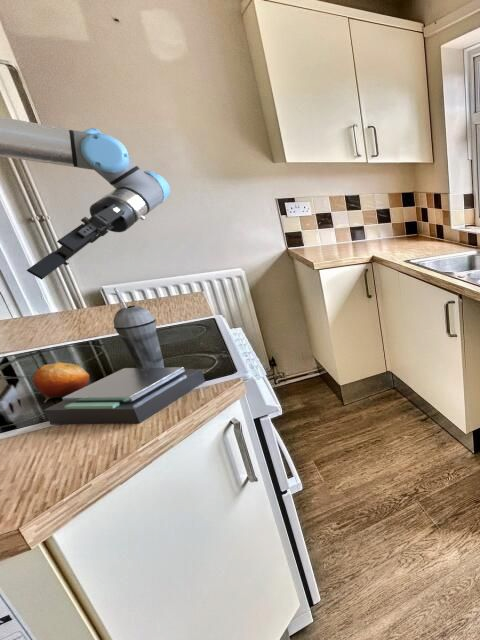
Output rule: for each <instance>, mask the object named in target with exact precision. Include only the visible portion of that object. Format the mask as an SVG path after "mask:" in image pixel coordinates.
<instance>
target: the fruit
mask: <svg viewBox="0 0 480 640" xmlns="http://www.w3.org/2000/svg"><path fill="white" fill-rule="evenodd" d="M32 382H33V386H34V388H36V389H37V390H38V391H39V393H40V394H41V395H42V396H43V397H44V398H45V400H43V402H44V403H45V404H46V403H47V401H49V400H50V399H55V398H63V397H65V396H67V395H69V394H71V393H73V392H75V391H77V390H80V389H82V388H84V387H86V386H88V385H89V382H90V373H89V372H87V370H85V369H84V368H83V367H82V366H80V365H78V364H75V363H71V362H61V361H60V362H54V363H49V364H48V363H47V364H43V365H42V366H40V368H38V369H37V370H36V371H35V373H34V375H33V381H32Z"/></svg>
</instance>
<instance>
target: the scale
mask: <svg viewBox="0 0 480 640" xmlns="http://www.w3.org/2000/svg"><path fill="white" fill-rule="evenodd" d="M184 370H185V372H183V373H181V374H179V375H178V376H176V377H174V378H172V379H171V380H169V381H167V382H165V383H164V384H162V385H160V386H158V387H157V388H155V389H153V390H151V391H150V392H148V393H146V394H144V395H143V396H141V397H139V398H137V399H136V400H134V401H132V402H64V401H63V400H61V401H59V402H58V403H55V404H53V405H51V406H49V407H47V408H45V409H43V413H44V415H45V417H46V419H47V421H48V423H49V425H103V424H104V425H105V424H106V425H107V424H108V425H109V424H110V425H112V424H117V425H118V424H141V423H142V422H144V421H146V420H147V419H148V418H150V417H152V416H153V415H156V413H158V412H160V411H161V410H163V409H164V408H166V407H168V406H169V405H171V404H172V403H174V402H175V401H177V400H178V399H180V398H182V397H183V396H185V395H186V394H188V393H190V392H191V391H193V390H194V389H195V387H196V388H197V387H199V386H201V385H202V384H204V383H205V382H206V379H205V376H204V373H203V370H202V368H184ZM187 392H188V393H187ZM185 393H186V394H185ZM184 394H185V395H184Z"/></svg>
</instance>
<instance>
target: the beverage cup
mask: <svg viewBox="0 0 480 640" xmlns="http://www.w3.org/2000/svg"><path fill="white" fill-rule="evenodd" d="M113 291H114V292H115V294H116V296H117V298H118V299H119V302H120V303H121V305H122V307H121V308H119V309H118V310H117V311H116V313H115V315H114V317H113V328H114V330H115V331H116V333H117V334H118V335H119V337H120V338H121V340H122V341H123V343H124V346H125V347H126V350H127V351H128V353H129V355H130V357H131V359H132V361H133V363H134V364H135V368H165V363H164V358H163V353H162V350H161V344H160V341H159V336H158V333H157V323H156V321H157V320H156V318H155V317H154V315H153V314H152V313H151V312H150V311H149V309H146V308H144V307H142V306H139V305H128V306H127V305H126V303H125V301H124V299H123V298H122V296H121V294H120V292H119V290H118V288H117V287H115V288H113Z"/></svg>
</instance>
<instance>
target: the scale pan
mask: <svg viewBox="0 0 480 640" xmlns="http://www.w3.org/2000/svg"><path fill="white" fill-rule="evenodd" d="M184 369H185V367H183V366H174V367H171V366H169V367H164V368H137V367H124V368H121V369H119V370H117V371H115V372H113V373H111V374H108V375H107V376H105V377H103V378H100V379H99V380H97V381H94V382H92V383H90V384H87V385H86V387H84V388H82V389H80V390H77V391H75V392H73V393H71V394H69V395H67V396H65V397H61V399H62V401H64V402H132V401H134V400H136V399H137V398H139V397H141V396H143V395H144V394H146V393H148V392H150V391H151V390H153V389H155V388H157V387H158V386H160V385H162V384H164V383H165V382H167V381H169V380H171V379H172V378H174V377H176V376H178V375H179V374H181V373H183V372H185V370H184Z"/></svg>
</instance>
